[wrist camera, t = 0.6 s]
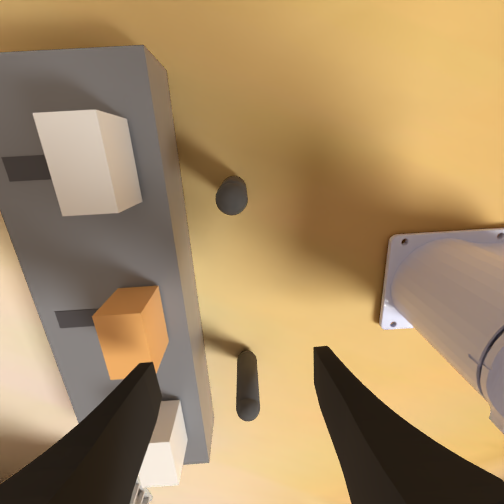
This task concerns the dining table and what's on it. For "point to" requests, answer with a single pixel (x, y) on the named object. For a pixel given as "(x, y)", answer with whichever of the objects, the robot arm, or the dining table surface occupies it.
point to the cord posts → (247, 400)
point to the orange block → (131, 329)
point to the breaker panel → (103, 224)
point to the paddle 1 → (89, 161)
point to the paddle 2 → (165, 448)
